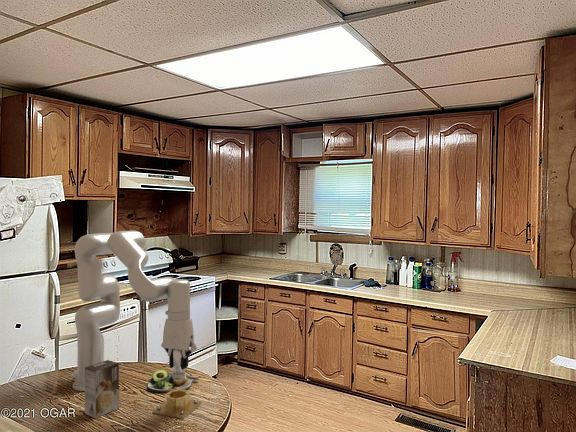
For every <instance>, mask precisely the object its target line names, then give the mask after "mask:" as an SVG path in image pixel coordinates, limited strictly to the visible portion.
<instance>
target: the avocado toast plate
mask: <svg viewBox="0 0 576 432" xmlns="http://www.w3.org/2000/svg"><path fill="white" fill-rule="evenodd" d="M198 380H200V379H199V377H196V376H195V377H194V376H191V375H190V374H188V373H185V378H184V379H181V380H175V379H173V373H171V372H168V371H167V370H166V369H162V368H161V369H157V370H155V371H154V372H153V373H152V375H151V377H150V379H149V382H148V384H147V386H146V389H147V390H149V392H151V393H157V394H160V393H161V394H163V393H168V392H170V391H172V390H178V389H182V390H188V389H189V388H190V387H191V385H192V383H193V382H194V381H198ZM175 387H179V388H175ZM173 388H175V389H173Z"/></svg>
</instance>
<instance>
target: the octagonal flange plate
mask: <svg viewBox="0 0 576 432" xmlns="http://www.w3.org/2000/svg"><path fill="white" fill-rule="evenodd" d="M177 389H178V390H172V389H171V390H172V391H170V392H166V393H165V394H164V395H165V397H164V399H165V401H164V402H162V403H161V404H159V405H158V406H156V407H155V408H154V409H152V414H156V415H161V416H164V417H165V416H166V417H171V418H175V419H181V420H184V419H185V418H186V417H188V416H189V415H190V414H191V413H192V412H193V411H196V409H197V408H198V407H200V406H201V405H202V401H201V400H198V399H191V393H190V391H189V390H188V389H185V390H182V389H179V388H177Z"/></svg>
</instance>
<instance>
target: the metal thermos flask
mask: <svg viewBox="0 0 576 432" xmlns="http://www.w3.org/2000/svg"><path fill="white" fill-rule="evenodd" d="M182 358H183V355H182V350H176V349H173V367H172V374H173V379H175V380H181V379H184V378H185V374H186V372H185V370H186V368H185V369H184V370H182V369H181V359H182Z"/></svg>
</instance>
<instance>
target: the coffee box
mask: <svg viewBox="0 0 576 432" xmlns="http://www.w3.org/2000/svg"><path fill="white" fill-rule="evenodd" d="M119 365H120V363H119V362H116V361H113V360H109V359H106V360H104V361H103V362H100V363H97V364H94V365H91V366H88V367H85V391H84V414H85V415H87V416H90V417H92V418H94V419H98V418H100V417H102V416H104V415H106V414H109V413H111V412H113V411H115V410H117V409H119V407H120V403H119V402H120V396H119V395H120V393H119V392H120V391H119V389H120V388H119V387H120V386H119V385H120V384H119V383H120V379H119V375H120V374H119V373H120V371H119V370H120V366H119Z"/></svg>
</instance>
